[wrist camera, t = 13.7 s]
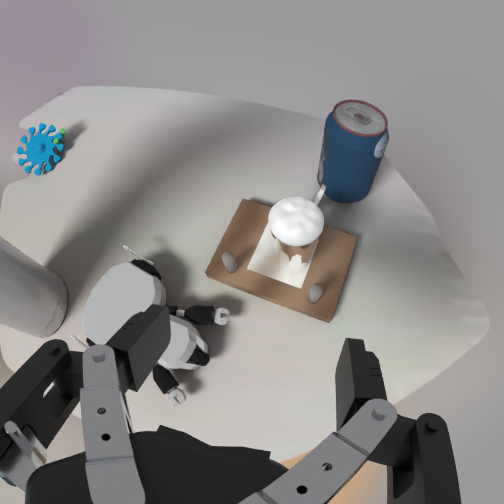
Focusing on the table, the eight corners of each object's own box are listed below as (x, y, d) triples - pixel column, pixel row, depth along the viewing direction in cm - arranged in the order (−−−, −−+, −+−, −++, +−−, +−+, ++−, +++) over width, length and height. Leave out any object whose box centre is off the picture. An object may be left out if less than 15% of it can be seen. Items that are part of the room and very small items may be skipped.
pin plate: (208, 277, 33) (198, 261, 29) (246, 201, 37) (242, 179, 33) (328, 322, 30) (337, 313, 26) (355, 238, 34) (364, 218, 29)
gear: (27, 185, 41) (9, 141, 37) (34, 187, 46) (17, 147, 42) (75, 152, 45) (56, 109, 41) (78, 158, 50) (60, 118, 46)
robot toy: (239, 314, 32) (132, 255, 35) (236, 305, 28) (118, 239, 31) (186, 410, 28) (83, 338, 31) (175, 416, 24) (63, 333, 26)
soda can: (377, 194, 36) (406, 128, 25) (337, 216, 35) (358, 147, 24) (346, 159, 39) (362, 90, 28) (305, 177, 38) (313, 105, 27)
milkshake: (327, 255, 31) (345, 203, 22) (290, 288, 30) (297, 244, 21) (297, 227, 33) (304, 169, 24) (261, 257, 32) (255, 205, 23)
